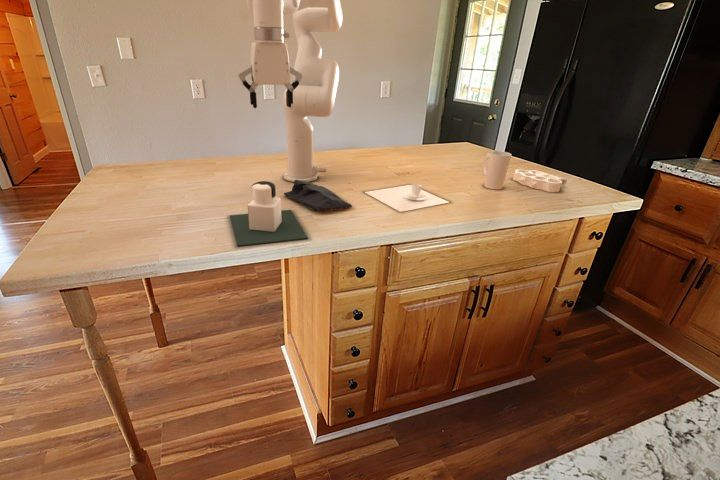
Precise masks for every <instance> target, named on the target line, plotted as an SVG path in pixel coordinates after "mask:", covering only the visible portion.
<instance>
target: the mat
mask: <svg viewBox="0 0 720 480" xmlns="http://www.w3.org/2000/svg"><path fill="white" fill-rule="evenodd" d="M281 217H282V222H281V223H280V225H279V226H278V228H277V229H276V231H275V232H268V231H258V230H250V229H249V219H248V213H243V214H242V213H241V214H231V215H229V218H230V222H231V227H232V230H233V234H234V235H233V236H234V238H235V242H236V246H237V248H239V247H247V246H258V245H264V244H274V243H285V242H293V241H301V240H308V239H309V237H308V236H307V234H306V232H305V230H304V229H303V227H302V226H301V224H300V223H299V221H298V219H297V218H296V216H295V214H294V213H293V211H292V210H291V209H288V210H287V209H286V210H281Z"/></svg>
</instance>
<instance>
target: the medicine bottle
mask: <svg viewBox="0 0 720 480" xmlns="http://www.w3.org/2000/svg"><path fill="white" fill-rule="evenodd" d="M251 195H252V200H251V201H250V202H249V203H248V204H247V214H248V219H249V229H250V230H258V231H268V232H275V231H276V229H277V228H278V226H279V225H280V223H281V222H282V217H281V211H282V199H281V198H280V197H277V194H276V184H275V183H273V182H271V181H268V180H267V181H266V180H262V181H257V182H254V183H253V184H252V185H251Z"/></svg>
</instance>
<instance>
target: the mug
mask: <svg viewBox="0 0 720 480" xmlns="http://www.w3.org/2000/svg"><path fill="white" fill-rule="evenodd" d="M511 159H512V153H510V152H508V151H501V150H494V151H491V152H487V153H486V156H485V157H484V158H483V161H482V165H481V166H482V176H483V177H484V184H483V186H484V188H487V189H490V190H501V189H503V187H504V183H505V180H506V177H507V172H508V169H509V166H510V163H511ZM487 161H488V162H487ZM487 163H488V164H487ZM486 165H487V166H486ZM486 167H487V168H486Z"/></svg>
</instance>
